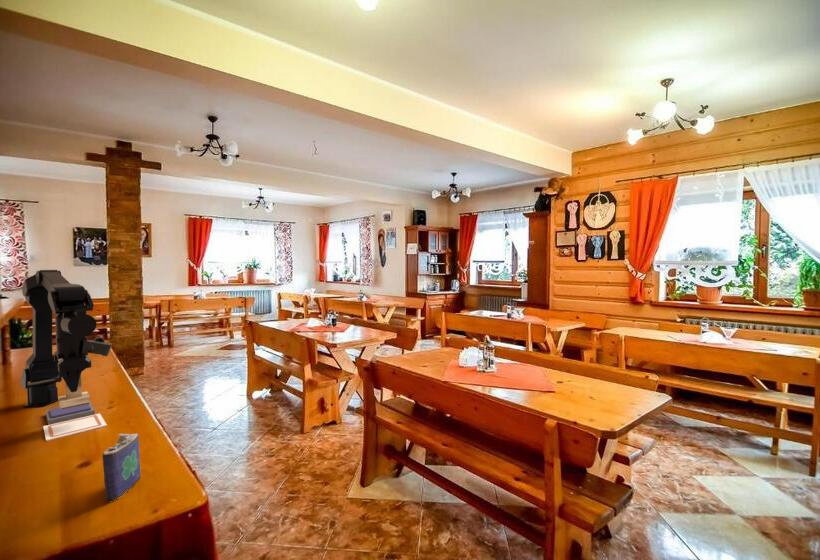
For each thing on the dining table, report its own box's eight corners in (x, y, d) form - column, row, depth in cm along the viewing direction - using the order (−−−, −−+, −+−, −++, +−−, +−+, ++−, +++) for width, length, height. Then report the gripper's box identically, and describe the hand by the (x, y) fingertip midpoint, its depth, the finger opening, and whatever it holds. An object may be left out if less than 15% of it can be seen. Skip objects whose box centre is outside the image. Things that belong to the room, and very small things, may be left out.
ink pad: (46, 415, 113) (45, 408, 113) (90, 405, 120) (89, 399, 120) (48, 424, 106) (47, 418, 106) (94, 414, 113) (94, 407, 113)
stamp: (58, 404, 104) (57, 374, 104) (87, 398, 108) (85, 370, 108) (60, 409, 100) (58, 379, 100) (90, 403, 104) (88, 374, 104)
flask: (130, 476, 79) (128, 424, 79) (145, 474, 80) (143, 423, 79) (100, 503, 70) (98, 445, 70) (118, 502, 70) (116, 444, 70)
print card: (43, 427, 104) (43, 425, 104) (99, 414, 113) (99, 413, 113) (46, 441, 96) (46, 439, 96) (106, 425, 104) (106, 424, 104)
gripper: (114, 332, 103) (116, 390, 103) (102, 325, 116) (105, 377, 116) (57, 339, 95) (60, 401, 95) (52, 330, 108) (55, 385, 108)
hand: (73, 390), depth 104 cm, fingers closed on stamp, 3 cm apart
